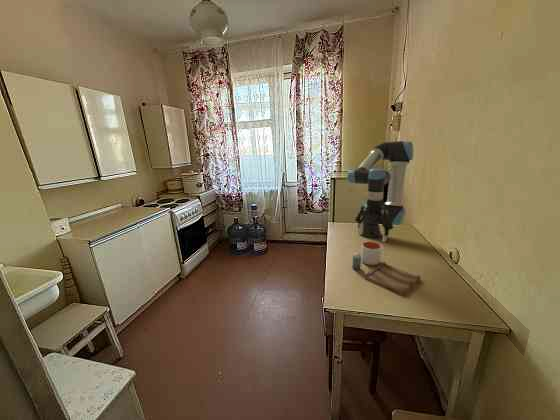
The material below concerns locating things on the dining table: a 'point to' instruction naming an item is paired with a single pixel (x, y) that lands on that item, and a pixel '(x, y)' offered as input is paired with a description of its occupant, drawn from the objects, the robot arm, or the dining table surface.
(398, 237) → the dining table surface
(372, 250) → the cup
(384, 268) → the board
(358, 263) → the shaker
